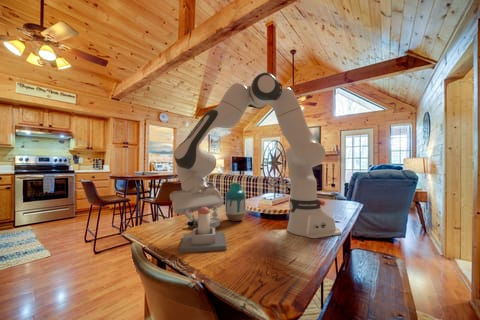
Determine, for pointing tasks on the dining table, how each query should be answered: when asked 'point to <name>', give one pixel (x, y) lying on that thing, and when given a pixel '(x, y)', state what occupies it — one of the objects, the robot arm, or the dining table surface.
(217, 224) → the robot toy
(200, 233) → the pink-topped post
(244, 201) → the vase
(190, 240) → the jig
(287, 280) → the dining table surface
